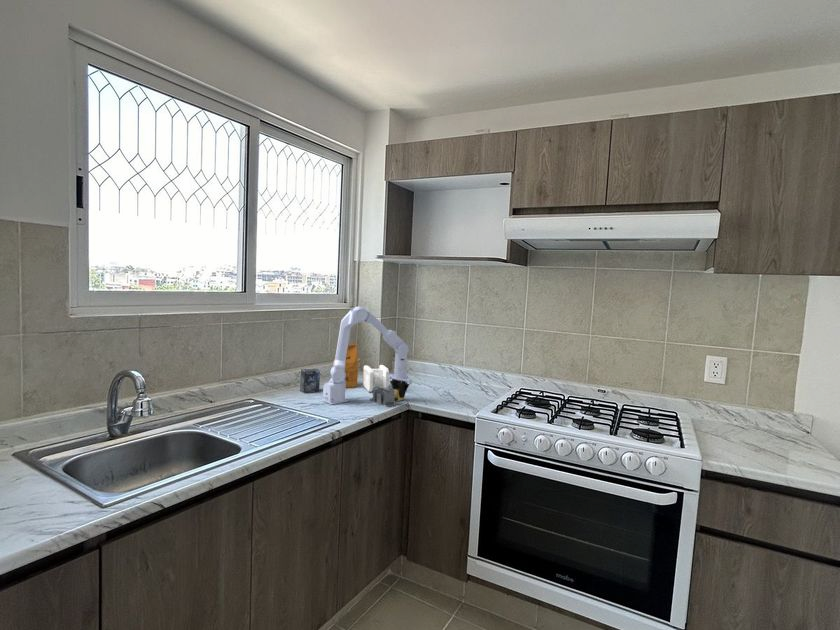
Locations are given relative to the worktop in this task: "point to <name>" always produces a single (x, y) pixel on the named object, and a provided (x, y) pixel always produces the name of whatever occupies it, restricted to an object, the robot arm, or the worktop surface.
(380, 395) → the plug
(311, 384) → the box
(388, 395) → the housing
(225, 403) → the worktop surface
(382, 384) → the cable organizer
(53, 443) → the worktop surface
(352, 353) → the coffee package
